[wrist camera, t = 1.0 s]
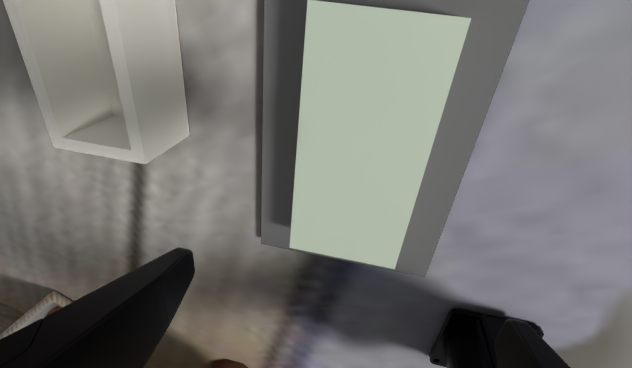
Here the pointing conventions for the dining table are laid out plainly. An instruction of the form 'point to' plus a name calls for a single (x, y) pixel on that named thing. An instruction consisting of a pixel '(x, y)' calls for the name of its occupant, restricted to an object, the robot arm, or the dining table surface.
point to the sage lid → (367, 124)
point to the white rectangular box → (105, 74)
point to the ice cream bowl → (227, 364)
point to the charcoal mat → (452, 134)
